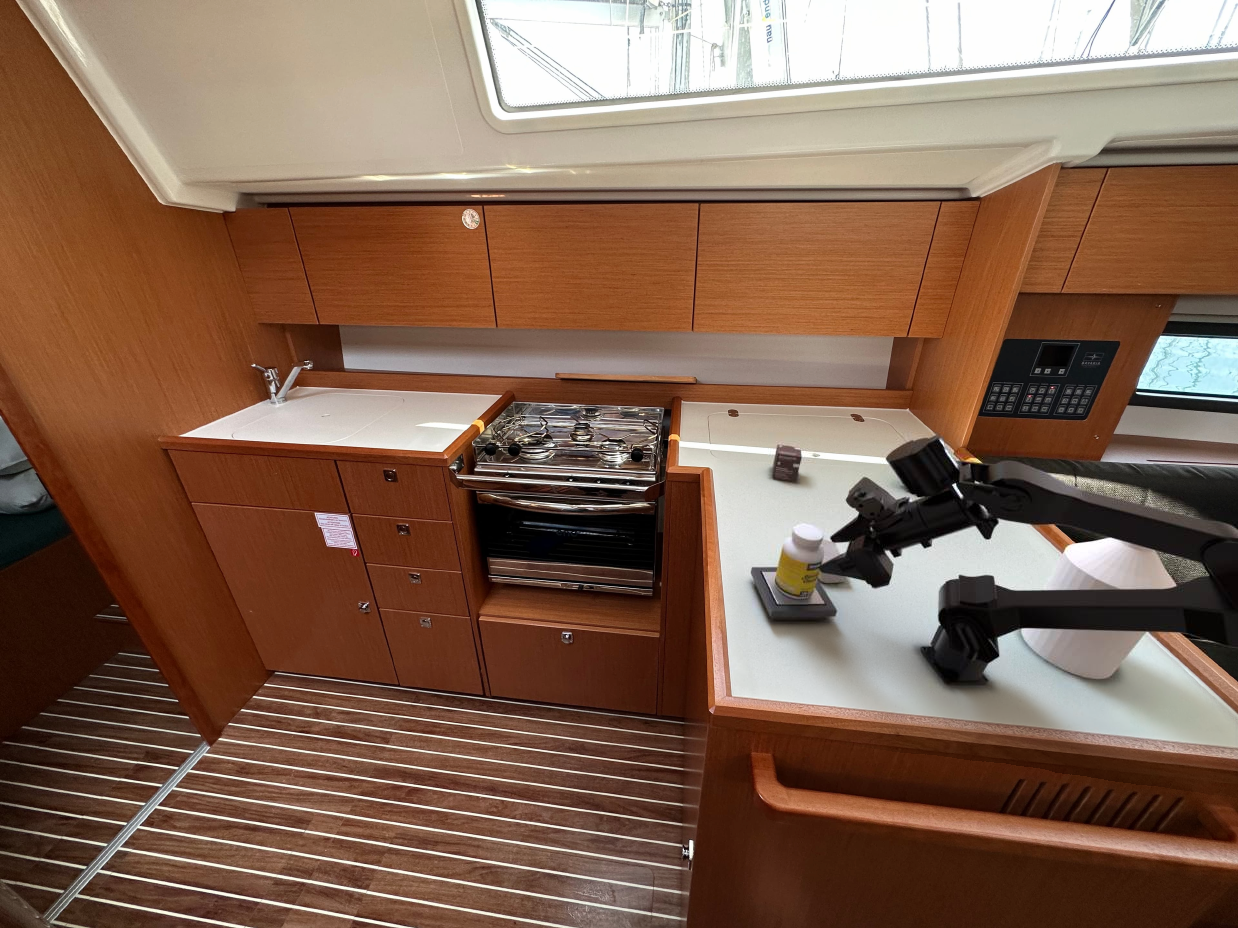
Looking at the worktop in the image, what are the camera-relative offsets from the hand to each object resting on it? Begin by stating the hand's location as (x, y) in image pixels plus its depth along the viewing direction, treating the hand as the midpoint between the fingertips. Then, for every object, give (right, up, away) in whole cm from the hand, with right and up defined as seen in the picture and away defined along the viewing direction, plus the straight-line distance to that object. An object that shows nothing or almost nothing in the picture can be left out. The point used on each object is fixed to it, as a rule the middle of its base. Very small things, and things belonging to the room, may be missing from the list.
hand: (825, 553), depth 75 cm
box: (+10, +11, +49) cm, 51 cm away
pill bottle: (-3, -7, +5) cm, 9 cm away
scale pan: (-3, -8, +6) cm, 11 cm away
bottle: (+38, -15, 0) cm, 41 cm away
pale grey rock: (+6, -6, +16) cm, 18 cm away
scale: (-3, -10, +7) cm, 12 cm away
